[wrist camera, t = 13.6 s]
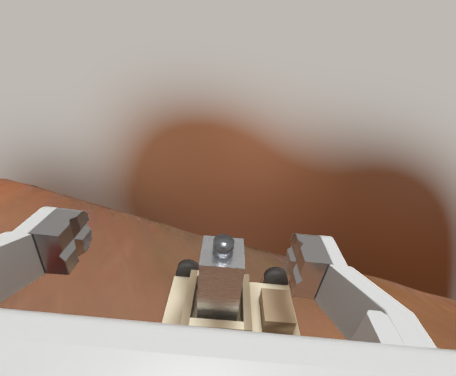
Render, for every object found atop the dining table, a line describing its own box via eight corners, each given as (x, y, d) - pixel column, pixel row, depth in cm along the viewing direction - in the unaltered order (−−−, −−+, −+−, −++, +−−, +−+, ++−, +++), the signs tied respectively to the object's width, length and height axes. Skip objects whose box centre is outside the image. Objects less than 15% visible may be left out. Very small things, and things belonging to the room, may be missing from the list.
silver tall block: (196, 327, 32) (199, 254, 26) (200, 294, 37) (204, 225, 31) (234, 330, 33) (246, 258, 27) (234, 297, 37) (245, 229, 31)
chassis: (151, 370, 29) (149, 348, 27) (176, 274, 42) (176, 254, 39) (306, 382, 29) (316, 360, 27) (285, 283, 42) (290, 263, 40)
